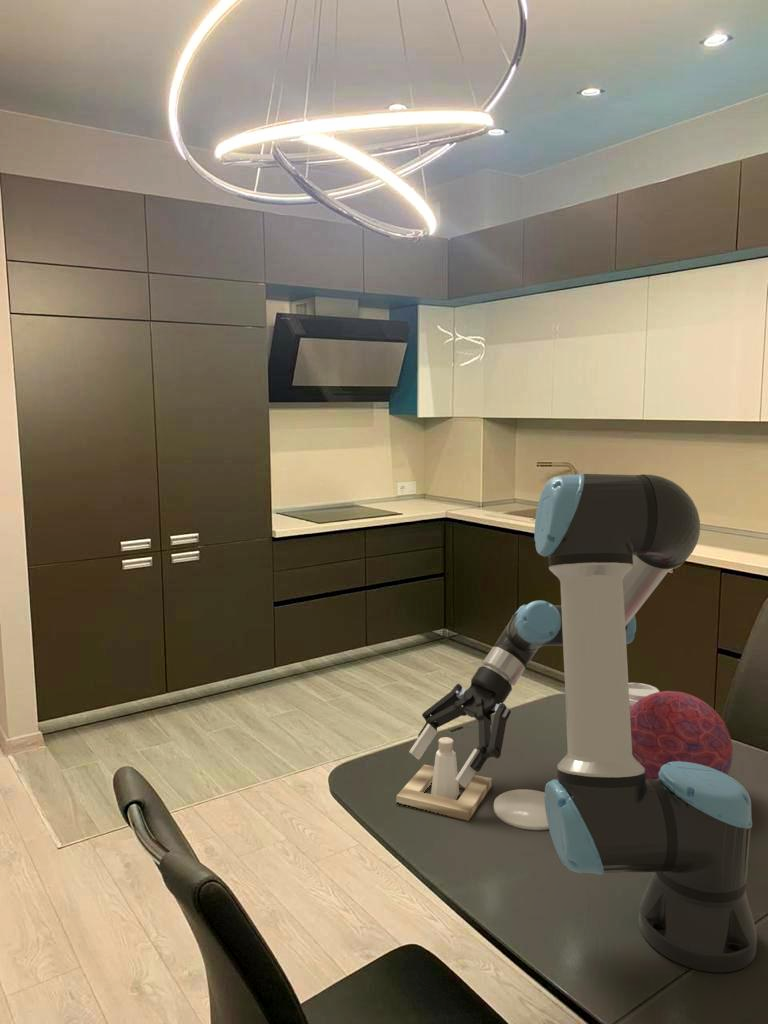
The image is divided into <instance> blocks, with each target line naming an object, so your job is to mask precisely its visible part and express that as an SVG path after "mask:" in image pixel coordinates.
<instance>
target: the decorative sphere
mask: <svg viewBox="0 0 768 1024" xmlns="http://www.w3.org/2000/svg"><path fill="white" fill-rule="evenodd" d="M630 721H631V739H632V755H633V756H634V758H635V759H636V760H637V761H638V762H639V763H640V764H641V765H642V766H643V767H644V768H645V778H646V779H659V776H658V774H659V771H660V769H661V767H662V766H663V765H664V764H667V763H669V762H674V761H681V762H690V763H696V764H700V765H704V766H707V767H710V768H713V769H716V770H718V771H720V772H722V773H724V774H727V775H728V776H729V772H730V770H731V767H732V762H733V751H734V750H733V742H732V737H731V735H730V731H729V729H728V727H727V725H726V722H724V720H723V719H722V717H721V716H720V715H719V714H718V712H717V711H716V710H715V709H714V708H713V707H712V706H711V705H709V704H708V703H706V701H704V700H702V699H700V698H699V697H696V696H694V695H692V694H689V693H686V692H683V691H677V690H676V691H675V690H664V691H659V692H657V693H653V694H650V695H648V696H646V697H644V698H642V699H640V700H639V701H638V702H636V703H635V704H634V705H633V706H632V707H631V708H630Z"/></svg>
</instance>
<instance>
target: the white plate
mask: <svg viewBox="0 0 768 1024" xmlns="http://www.w3.org/2000/svg"><path fill="white" fill-rule="evenodd" d="M544 796H545V791H539V790H534V789H524V788H523V789H522V788H521V789H511V790H508V791H504V792H503V793H501V794H499V795H498V796H496V797H495V799H494V801H493V812H494V814H495V815H496V816H497V818H498V819H499V820H501V821H503V823H505V824H507V825H509V826H511V827H514V828H519V829H521V830H528V831H546V830H547V831H548V830H549V826H548V821H547V816H546V809H545V800H544Z"/></svg>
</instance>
